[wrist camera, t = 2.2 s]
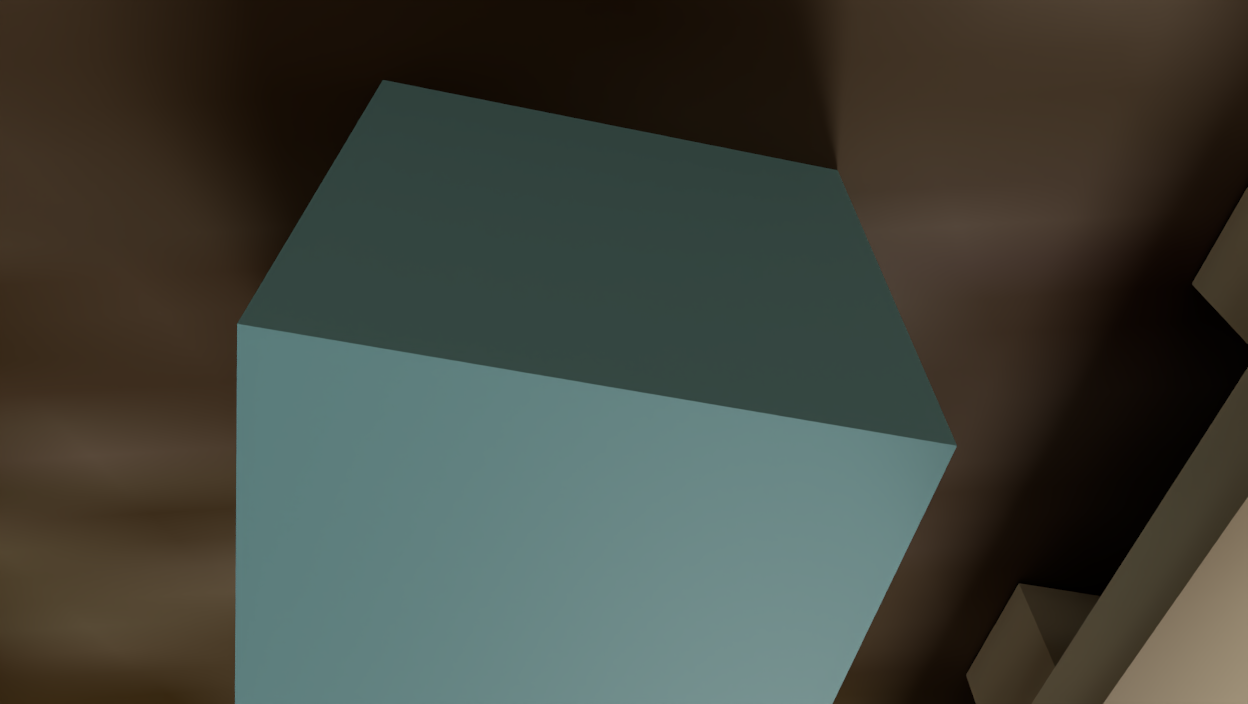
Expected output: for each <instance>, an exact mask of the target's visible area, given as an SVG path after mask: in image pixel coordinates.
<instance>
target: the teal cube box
mask: <svg viewBox="0 0 1248 704" xmlns="http://www.w3.org/2000/svg"><path fill="white" fill-rule="evenodd" d="M956 447H957V445H956V443H955V440H954V438H953V436H952V433H951V431H950V429H949V426H948V424H947V422H946V420H945V417H944V415H943V413H942V410H941V408H940V406H939V403H938V401H937V399H936V396H935V394H934V392H933V390H932V387H931V385H930V383H929V380H928V378H927V376H926V373H925V371H924V369H923V367H922V364H921V362H920V360H919V357H918V355H917V353H916V350H915V348H914V346H913V343H912V341H911V339H910V337H909V334H908V332H907V330H906V327H905V325H904V323H903V320H902V318H901V316H900V313H899V311H898V309H897V307H896V304H895V302H894V300H893V297H892V295H891V293H890V290H889V288H888V286H887V284H886V281H885V279H884V277H883V274H882V272H881V270H880V267H879V265H878V263H877V260H876V258H875V256H874V254H873V251H872V249H871V247H870V244H869V242H868V240H867V237H866V235H865V233H864V230H863V228H862V226H861V224H860V221H859V219H858V217H857V214H856V212H855V210H854V207H853V205H852V203H851V201H850V198H849V196H848V194H847V191H846V189H845V187H844V184H843V182H842V180H841V177H840V175H839V173H838V171H837V170H834V169H828V168H823V167H818V166H813V165H808V164H803V163H798V162H793V161H788V160H783V159H778V158H773V157H768V156H763V155H758V154H753V153H748V152H743V151H738V150H733V149H728V148H723V147H718V146H713V145H708V144H703V143H698V142H693V141H688V140H683V139H678V138H673V137H668V136H663V135H658V134H653V133H648V132H643V131H638V130H632V129H627V128H622V127H617V126H612V125H607V124H602V123H597V122H592V121H587V120H582V119H577V118H572V117H567V116H562V115H557V114H552V113H547V112H542V111H537V110H532V109H527V108H522V107H517V106H512V105H507V104H502V103H497V102H492V101H487V100H482V99H477V98H472V97H467V96H462V95H457V94H452V93H447V92H442V91H436V90H431V89H426V88H421V87H416V86H411V85H406V84H401V83H396V82H391V81H386V80H382V82H381V84H380V86H379V87H378V89H377V91H376V92H375V94H374V96H373V97H372V99H371V101H370V102H369V104H368V106H367V107H366V109H365V111H364V112H363V114H362V116H361V117H360V119H359V121H358V122H357V124H356V126H355V127H354V129H353V131H352V132H351V134H350V136H349V137H348V139H347V141H346V142H345V144H344V146H343V148H342V149H341V151H340V153H339V154H338V156H337V158H336V159H335V161H334V163H333V164H332V166H331V168H330V169H329V171H328V173H327V174H326V176H325V178H324V179H323V181H322V183H321V184H320V186H319V188H318V189H317V191H316V193H315V194H314V196H313V198H312V199H311V201H310V203H309V204H308V206H307V208H306V210H305V211H304V213H303V215H302V216H301V218H300V220H299V221H298V223H297V225H296V226H295V228H294V230H293V231H292V233H291V235H290V236H289V238H288V240H287V241H286V243H285V245H284V246H283V248H282V250H281V251H280V253H279V255H278V256H277V258H276V260H275V261H274V263H273V265H272V266H271V268H270V270H269V272H268V273H267V275H266V277H265V278H264V280H263V282H262V283H261V285H260V287H259V288H258V290H257V292H256V293H255V295H254V297H253V298H252V300H251V302H250V303H249V305H248V307H247V308H246V310H245V312H244V313H243V315H242V317H241V318H240V320H239V322H238V323H237V459H236V627H235V704H832V703H833V701H834V699H835V697H836V695H837V693H838V691H839V689H840V687H841V685H842V683H843V681H844V679H845V676H846V674H847V672H848V670H849V668H850V666H851V664H852V662H853V660H854V658H855V656H856V654H857V652H858V650H859V647H860V645H861V643H862V641H863V639H864V637H865V635H866V633H867V631H868V629H869V627H870V625H871V623H872V621H873V618H874V616H875V614H876V612H877V610H878V608H879V606H880V604H881V602H882V600H883V598H884V596H885V594H886V592H887V590H888V587H889V585H890V583H891V581H892V579H893V577H894V575H895V573H896V571H897V569H898V567H899V565H900V563H901V561H902V558H903V556H904V554H905V552H906V550H907V548H908V546H909V544H910V542H911V540H912V538H913V536H914V534H915V532H916V529H917V527H918V525H919V523H920V521H921V519H922V517H923V515H924V513H925V511H926V509H927V507H928V505H929V503H930V501H931V498H932V496H933V494H934V492H935V490H936V488H937V486H938V484H939V482H940V480H941V478H942V476H943V474H944V472H945V469H946V467H947V465H948V463H949V461H950V459H951V457H952V455H953V453H954V451H955V449H956Z"/></svg>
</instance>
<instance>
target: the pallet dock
mask: <svg viewBox="0 0 1248 704" xmlns="http://www.w3.org/2000/svg"><path fill="white" fill-rule="evenodd" d="M1192 285H1193V286H1194V287H1195V288H1196V289H1197V290H1198V291H1199V292H1200V293H1201V295H1202V296H1203V297H1204V298H1205V299H1206V300H1207V301H1208V302H1209V303H1210V304H1211V305H1212V306H1213V307H1214V309H1215V310H1216V311H1217V312H1218V313H1219V314H1220V315H1221V316H1222V317H1223V318H1224V319H1225V320H1226V321H1227V322H1228V324H1229V325H1230V326H1231V327H1232V328H1233V329H1234V330H1235V331H1236V332H1237V333H1238V334H1239V335H1240V336H1241V337H1242V339H1243V340H1244V341H1245V342H1246V343H1247V344H1248V187H1247V189H1246V191H1245V192H1244V194H1243V196H1242V198H1241V199H1240V201H1239V203H1238V204H1237V206H1236V208H1235V210H1234V211H1233V213H1232V215H1231V217H1230V218H1229V220H1228V222H1227V224H1226V225H1225V227H1224V229H1223V230H1222V232H1221V234H1220V236H1219V237H1218V239H1217V241H1216V243H1215V244H1214V246H1213V248H1212V250H1211V251H1210V253H1209V255H1208V256H1207V258H1206V260H1205V262H1204V263H1203V265H1202V267H1201V269H1200V270H1199V272H1198V274H1197V276H1196V277H1195V279H1194V281H1193V282H1192ZM966 677H967V680H968V682H969V685H970V688H971V691H972V694H973V697H974V700H975V703H976V704H1248V368H1247V369H1246V371H1245V372H1244V374H1243V376H1242V377H1241V379H1240V380H1239V382H1238V383H1237V385H1236V386H1235V388H1234V390H1233V391H1232V393H1231V394H1230V396H1229V397H1228V399H1227V400H1226V402H1225V404H1224V405H1223V407H1222V408H1221V410H1220V411H1219V413H1218V414H1217V416H1216V418H1215V419H1214V421H1213V422H1212V424H1211V425H1210V427H1209V428H1208V430H1207V432H1206V433H1205V435H1204V436H1203V438H1202V439H1201V441H1200V442H1199V444H1198V446H1197V447H1196V449H1195V450H1194V452H1193V453H1192V455H1191V456H1190V458H1189V460H1188V461H1187V463H1186V464H1185V466H1184V467H1183V469H1182V470H1181V472H1180V474H1179V475H1178V477H1177V478H1176V480H1175V481H1174V483H1173V484H1172V486H1171V488H1170V489H1169V491H1168V492H1167V494H1166V495H1165V497H1164V498H1163V500H1162V502H1161V503H1160V505H1159V506H1158V508H1157V509H1156V511H1155V512H1154V514H1153V516H1152V517H1151V519H1150V520H1149V522H1148V523H1147V525H1146V526H1145V528H1144V530H1143V531H1142V533H1141V534H1140V536H1139V537H1138V539H1137V540H1136V542H1135V544H1134V545H1133V547H1132V548H1131V550H1130V551H1129V553H1128V554H1127V556H1126V558H1125V559H1124V561H1123V562H1122V564H1121V565H1120V567H1119V568H1118V570H1117V572H1116V573H1115V575H1114V576H1113V578H1112V579H1111V581H1110V582H1109V584H1108V586H1107V587H1106V589H1105V590H1104V592H1103V593H1102V595H1101V596H1097V595H1090V594H1084V593H1078V592H1071V591H1065V590H1058V589H1052V588H1046V587H1039V586H1033V585H1027V584H1020V583H1019V584H1018V586H1017V587H1016V589H1015V591H1014V593H1013V594H1012V596H1011V598H1010V600H1009V601H1008V603H1007V605H1006V606H1005V608H1004V610H1003V612H1002V613H1001V615H1000V617H999V619H998V620H997V622H996V624H995V626H994V627H993V629H992V631H991V632H990V634H989V636H988V638H987V639H986V641H985V643H984V645H983V646H982V648H981V650H980V652H979V653H978V655H977V657H976V658H975V660H974V662H973V664H972V665H971V667H970V669H969V671H968V672H967V674H966Z"/></svg>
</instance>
